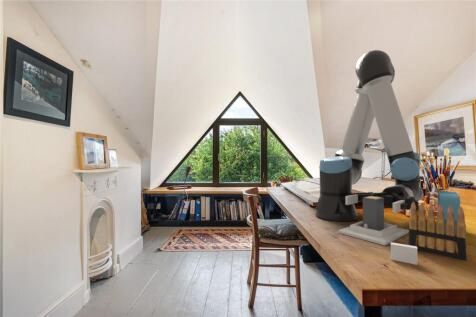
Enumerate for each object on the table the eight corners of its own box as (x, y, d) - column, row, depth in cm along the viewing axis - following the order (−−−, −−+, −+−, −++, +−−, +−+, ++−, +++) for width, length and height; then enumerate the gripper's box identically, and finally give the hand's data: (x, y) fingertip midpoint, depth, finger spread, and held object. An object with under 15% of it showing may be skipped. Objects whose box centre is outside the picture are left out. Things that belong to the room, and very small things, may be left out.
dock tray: (338, 232, 72) (338, 221, 72) (365, 223, 82) (365, 213, 82) (384, 245, 62) (384, 232, 62) (408, 232, 72) (408, 221, 72)
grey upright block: (362, 230, 72) (362, 197, 72) (370, 227, 75) (370, 195, 75) (376, 233, 69) (376, 199, 69) (383, 230, 72) (383, 197, 72)
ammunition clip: (408, 248, 60) (408, 201, 59) (409, 246, 61) (409, 200, 61) (466, 261, 52) (467, 207, 52) (466, 258, 54) (466, 206, 54)
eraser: (417, 265, 51) (417, 248, 51) (390, 260, 53) (390, 244, 53) (416, 262, 52) (416, 246, 52) (390, 258, 54) (390, 242, 54)
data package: (460, 238, 66) (460, 196, 66) (439, 235, 69) (439, 195, 69) (455, 228, 76) (455, 191, 76) (437, 226, 79) (437, 190, 78)
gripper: (442, 213, 72) (419, 226, 60) (360, 201, 93) (330, 209, 80) (442, 189, 72) (419, 197, 60) (360, 182, 92) (330, 187, 80)
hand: (368, 204), depth 70 cm, fingers open, 13 cm apart
